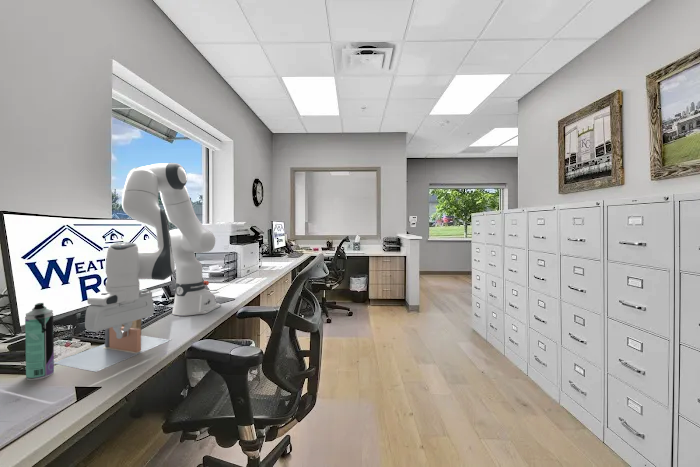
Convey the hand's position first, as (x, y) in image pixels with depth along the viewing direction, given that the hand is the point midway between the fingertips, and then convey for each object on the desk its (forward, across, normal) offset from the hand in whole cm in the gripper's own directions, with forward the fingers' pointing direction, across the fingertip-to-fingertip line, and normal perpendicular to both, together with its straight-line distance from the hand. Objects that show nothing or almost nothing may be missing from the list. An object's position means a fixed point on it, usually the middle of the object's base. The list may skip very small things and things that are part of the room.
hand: (122, 337), depth 103 cm
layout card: (+6, -1, -4) cm, 7 cm away
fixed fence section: (+5, -8, -9) cm, 13 cm away
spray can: (+6, +18, -7) cm, 20 cm away
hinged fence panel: (+5, -2, -3) cm, 6 cm away
